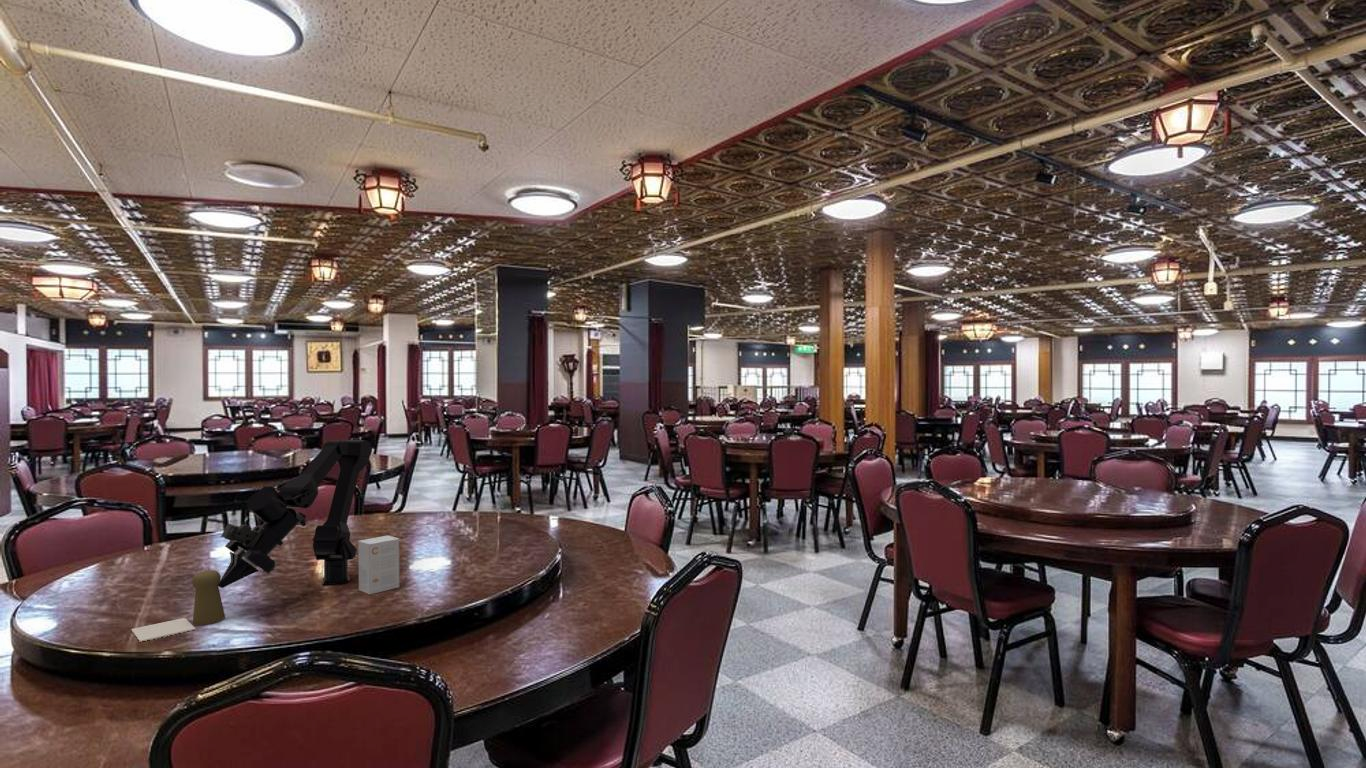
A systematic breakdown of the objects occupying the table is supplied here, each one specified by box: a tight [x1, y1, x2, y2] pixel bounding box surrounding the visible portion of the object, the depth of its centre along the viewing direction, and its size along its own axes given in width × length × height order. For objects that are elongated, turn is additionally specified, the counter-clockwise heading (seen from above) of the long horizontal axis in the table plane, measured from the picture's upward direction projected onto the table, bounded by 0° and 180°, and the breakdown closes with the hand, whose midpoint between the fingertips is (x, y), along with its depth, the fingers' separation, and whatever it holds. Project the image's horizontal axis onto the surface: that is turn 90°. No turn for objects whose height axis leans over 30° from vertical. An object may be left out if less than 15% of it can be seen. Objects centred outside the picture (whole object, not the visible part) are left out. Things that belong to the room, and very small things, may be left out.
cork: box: [191, 570, 226, 626], centre depth 151 cm, size 6×6×11 cm
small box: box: [357, 535, 400, 595], centre depth 174 cm, size 8×6×13 cm
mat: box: [130, 617, 197, 643], centre depth 145 cm, size 10×10×1 cm
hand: (219, 586), depth 152 cm, fingers closed
